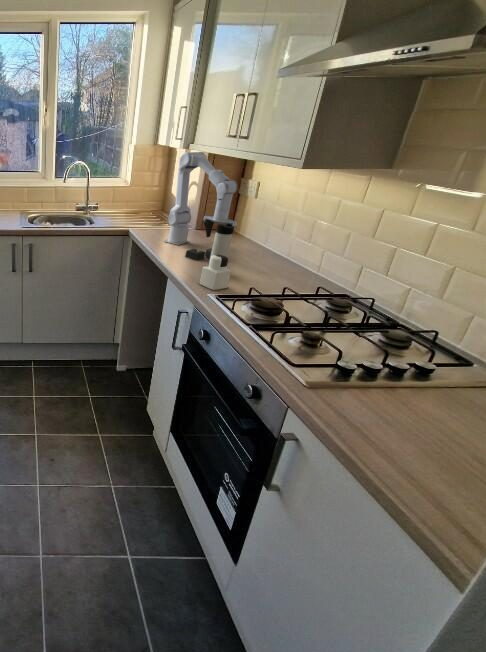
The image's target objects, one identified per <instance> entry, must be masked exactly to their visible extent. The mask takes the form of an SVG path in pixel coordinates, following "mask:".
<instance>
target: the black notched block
mask: <svg viewBox="0 0 486 652" xmlns="http://www.w3.org/2000/svg"><path fill="white" fill-rule="evenodd" d="M205 254H206V251H203V250H199V251H198V249H196V248H191V249H187V250H186V251H185V258H188V259H192V260H195V261H199V260H203V259H204V258H205Z"/></svg>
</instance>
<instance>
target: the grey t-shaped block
mask: <svg viewBox="0 0 486 652" xmlns="http://www.w3.org/2000/svg"><path fill="white" fill-rule="evenodd" d="M211 252H212V248H211V247H210V248H206V250H205V255H204V257H206V259H210V257H211Z"/></svg>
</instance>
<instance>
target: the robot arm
mask: <svg viewBox="0 0 486 652" xmlns="http://www.w3.org/2000/svg"><path fill="white" fill-rule="evenodd" d="M197 168H200V169H201V170H202V171H203V172H205V173H206V175H208V180H209V182H211V184H213V186H214V187H215V189H216V190H215V191H216V202H215V203H216V204H215V209H214V213H213V215H212V216H211V215H204V216H203V218H202V219H203V221H204V222H203V224H204V228H205V237H206V238H210V237H211V235H212V230H213V227H214V224H215V223H217V224H221V225H228V226H230V227H234V228H236V227H237V226H238V221H236V220H233V219H230V218H229V213H230V211H231V204H232V200H233V195H234V194H236V193H237V191H238V187H239V186H238V182H237V181H236V180H234V179H232V180H231V179H230V177H228V176H227V175H226V174H225V173H224V171H223V170H222V169H216V168H215V167H214V166H213V164H212V163H211V162H210V160H208V158H207V155H206V154H205V153H204V152H203V151H189V152H188V151H185V152H183V153H182V154H181V155H180V156H179V161H178V169H177V180H176V193H175V203H174V204H175V205H174V206H173V207H172V208H170V210H169V215H168V217H167V218H168V223H169V225H170V227H169V229H170V230H169V234H168V239H166V240H164V242H166V243H169V244H173V245H176V246H180V245H182V244H186V243H189V240H188V238H189V237H188V236H189V231H190V229H189V228H190V227H189V226H188V224H190V222H191V220H192V215H191V208H190V207H189V206H188V200H189V199H188V197H189V190H190V189H189V188H190V176H191V173H192V172H193V170H195V169H197Z"/></svg>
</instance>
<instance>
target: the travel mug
mask: <svg viewBox="0 0 486 652" xmlns="http://www.w3.org/2000/svg"><path fill="white" fill-rule="evenodd" d="M234 230H235V227H230V226H228V225H226V224H221V223H217V225H216V229H215V234H214V238H213V243H212V252H211V256H212V255H223V256H226V257H227V258H228V256H229V252H230V248H231V243H232V240H233V235H234Z"/></svg>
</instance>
